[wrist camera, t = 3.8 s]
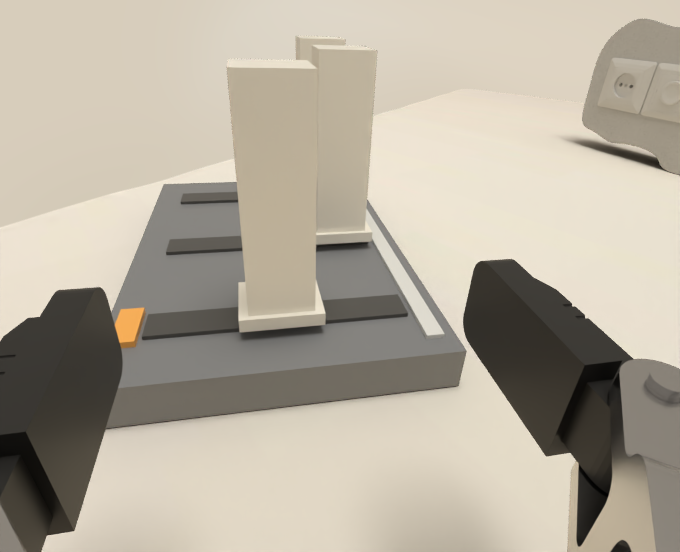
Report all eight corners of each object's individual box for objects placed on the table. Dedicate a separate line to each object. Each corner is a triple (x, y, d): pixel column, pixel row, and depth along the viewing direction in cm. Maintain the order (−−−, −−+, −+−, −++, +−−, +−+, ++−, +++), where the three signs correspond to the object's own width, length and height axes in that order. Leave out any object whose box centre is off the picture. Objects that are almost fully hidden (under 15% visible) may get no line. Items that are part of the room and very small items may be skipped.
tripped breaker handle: (315, 287, 22) (317, 59, 17) (325, 324, 19) (331, 69, 14) (239, 293, 21) (216, 57, 16) (239, 332, 19) (212, 68, 13)
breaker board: (352, 201, 38) (360, 35, 32) (458, 385, 20) (530, 80, 13) (168, 208, 36) (136, 29, 29) (92, 430, 17) (-39, 74, 11)
